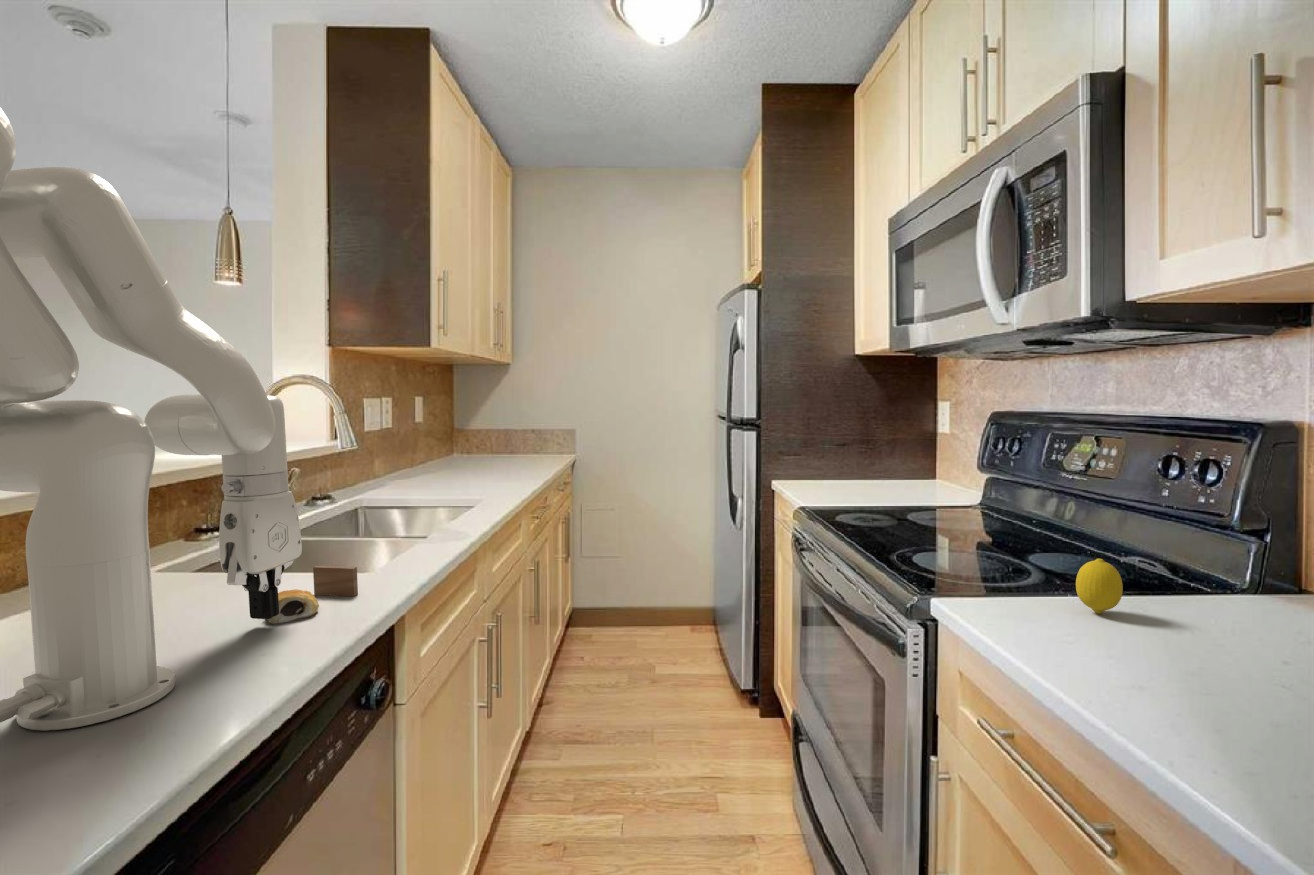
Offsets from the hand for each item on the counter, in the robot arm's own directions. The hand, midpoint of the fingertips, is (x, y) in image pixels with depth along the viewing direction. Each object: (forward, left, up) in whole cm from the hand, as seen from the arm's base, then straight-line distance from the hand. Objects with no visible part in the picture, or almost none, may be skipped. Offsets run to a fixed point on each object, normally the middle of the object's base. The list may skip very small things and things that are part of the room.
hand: (264, 616), depth 89 cm
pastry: (+6, +1, -2) cm, 6 cm away
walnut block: (+15, 0, -2) cm, 15 cm away
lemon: (+20, -116, -2) cm, 118 cm away
